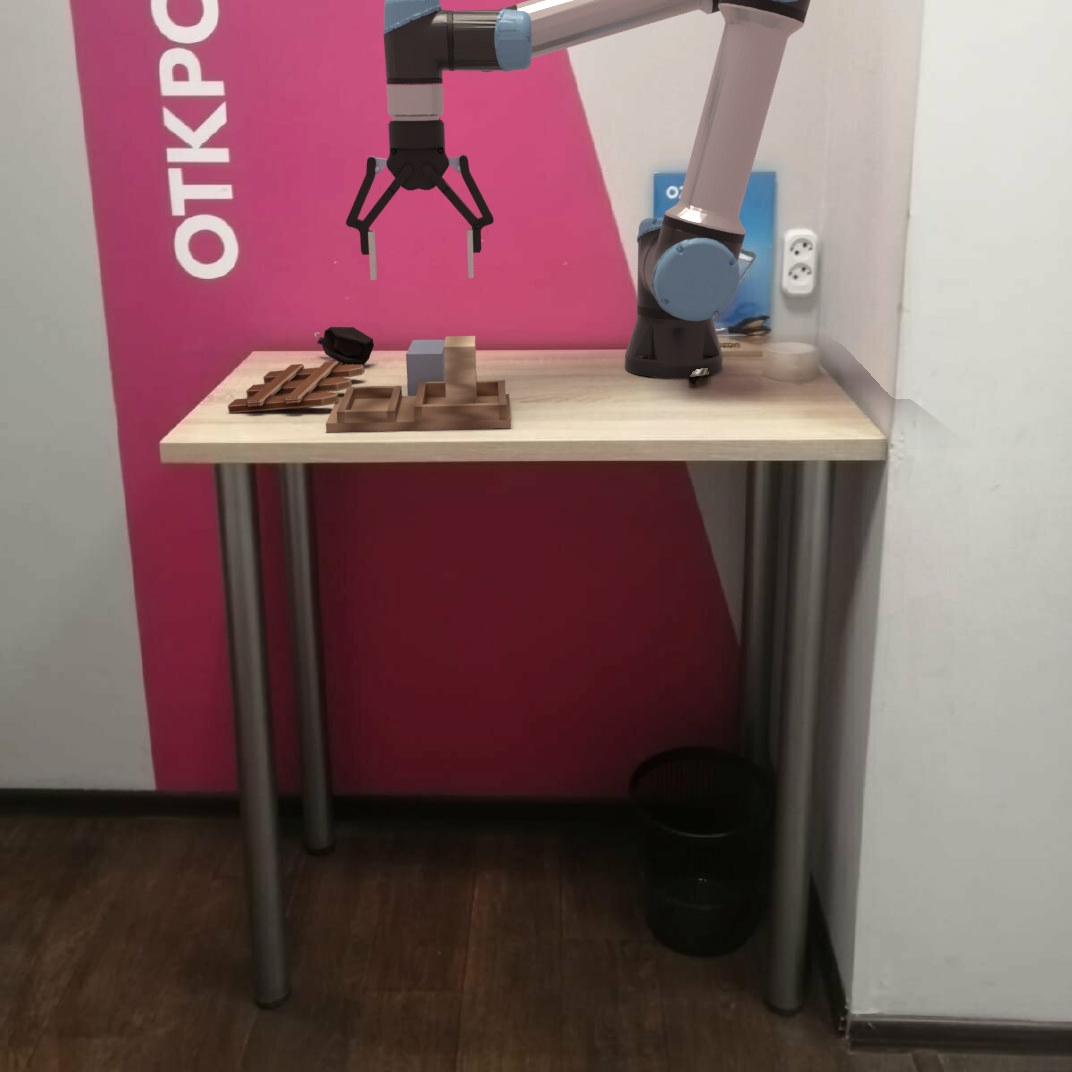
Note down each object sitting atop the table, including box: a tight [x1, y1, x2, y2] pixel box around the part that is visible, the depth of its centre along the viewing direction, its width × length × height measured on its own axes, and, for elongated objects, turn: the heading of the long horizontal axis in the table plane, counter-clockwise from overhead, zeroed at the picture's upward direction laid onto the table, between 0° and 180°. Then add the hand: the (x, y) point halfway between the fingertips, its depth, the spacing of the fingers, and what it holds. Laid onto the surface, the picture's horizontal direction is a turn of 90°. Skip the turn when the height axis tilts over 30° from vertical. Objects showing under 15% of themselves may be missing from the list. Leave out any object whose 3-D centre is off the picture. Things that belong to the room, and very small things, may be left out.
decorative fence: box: [227, 360, 365, 414], centre depth 184 cm, size 23×2×15 cm
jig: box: [325, 379, 512, 433], centre depth 171 cm, size 24×14×3 cm, turn 92°
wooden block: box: [444, 335, 478, 404], centre depth 170 cm, size 4×7×9 cm, turn 2°
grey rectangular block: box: [405, 339, 445, 396], centre depth 183 cm, size 5×10×7 cm, turn 179°
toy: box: [313, 326, 375, 366], centre depth 204 cm, size 9×6×15 cm
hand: (422, 277), depth 178 cm, fingers open, 13 cm apart
